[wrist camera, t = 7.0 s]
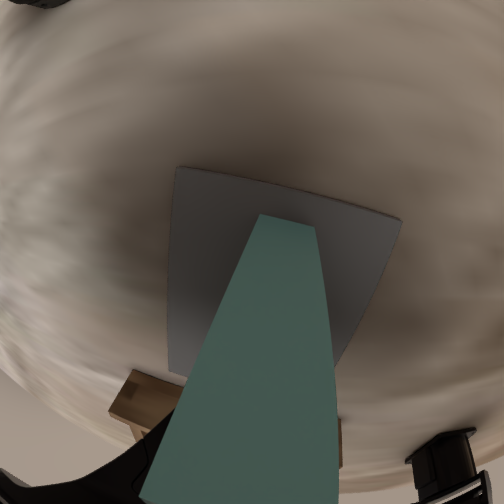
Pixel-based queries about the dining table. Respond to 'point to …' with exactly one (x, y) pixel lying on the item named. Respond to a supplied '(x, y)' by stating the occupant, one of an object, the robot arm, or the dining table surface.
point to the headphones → (40, 3)
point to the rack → (154, 404)
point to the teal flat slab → (258, 387)
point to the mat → (236, 237)
